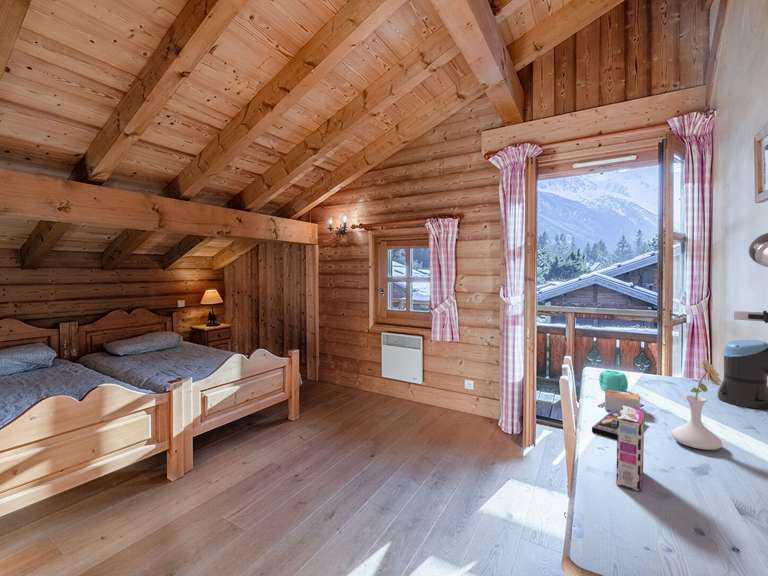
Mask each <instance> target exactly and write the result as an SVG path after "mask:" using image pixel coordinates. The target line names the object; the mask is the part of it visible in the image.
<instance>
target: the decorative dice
mask: <svg viewBox="0 0 768 576" xmlns="http://www.w3.org/2000/svg"><path fill="white" fill-rule="evenodd" d="M598 383H599V386H600V389H601V390H602V391H603V392H604V391H606V390H613V391H620V392H627V390H628V389H629V387H628V386H629V382H628V378H627V376H626V374H624V372H622V371H618V370H612V369H611V370H602V371H601V372H600V373H599V376H598Z"/></svg>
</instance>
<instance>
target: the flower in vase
mask: <svg viewBox="0 0 768 576" xmlns="http://www.w3.org/2000/svg"><path fill="white" fill-rule="evenodd" d="M701 365H702V369H703V370H704V374H703V375H702V377H701V378H700V380H699V382H698V385H697V387H693V388H692V389H690V392H691V393H695V395H692V394H686V395H684V397H685V399H686V400H687V402H688V404H689V410H690V419H689V421H688V422H687V423H684V424H681V425H679V426H677V427H675V428H673V429H672V430H671V432H670V435H671V437H672V439H674V440H675V441H676V442H678V443H680V444H683V445H685V446H687V447H691V448H695V449H697V450H698V449H700V450H707V451H708V450H709V451H713V450H718V449H721V448H722V447H723V445H724V444H723V442H722V440H721V439H720V438H719V437H718V436H717V435H716V434H715V433H713V432H712V430H709V429H708V428H707V427H706V426H705V425H704V424H703V422H702V411H703V406H704V405H705V404H706V402H708V398H706V397H703V396H699V395H698V394H699V393H701V392H702V393H707V391H708V387H707V386H706V385H705V384H704V383H702V381H703V379H704V378H705V377H708V379H709V380H710V381H711V383H712V384H714V385H715V386H719V387H720V386H721V384H722V382H723V380H721V378H720V377H719V376H720V374H719V372H717V371H716V369H715V368H714V365H713V364H709V361H708V359H707V358H706V359H705V358H702V360H701Z"/></svg>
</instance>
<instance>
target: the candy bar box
mask: <svg viewBox="0 0 768 576" xmlns="http://www.w3.org/2000/svg"><path fill="white" fill-rule="evenodd" d="M618 413H619V415H618V417H617V440H616V481H615V484H616V485H617V486H619V487H623V488H626V489H628V488H629V490H631V489H633V490H632V491H634V490H637V491H636V492H638V491H639V493H640V492H641V488H642V480H643V476H644V442H645V441H644V440H645V437H644V436H645V435H644V434H645V424H644V419H645V409H643V408H640V409H639V408H634V407H628V406H622V408H621V410H620V412H618Z"/></svg>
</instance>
